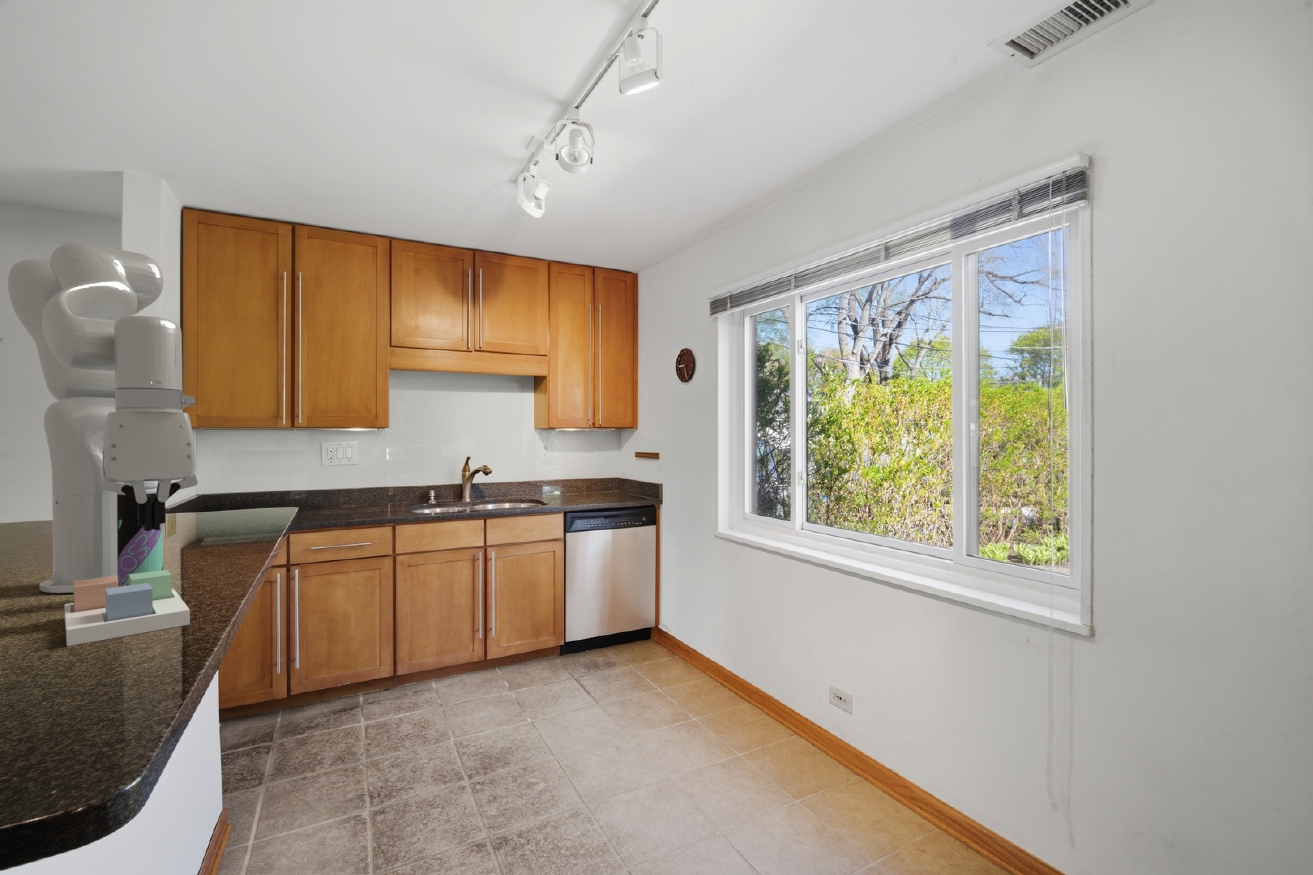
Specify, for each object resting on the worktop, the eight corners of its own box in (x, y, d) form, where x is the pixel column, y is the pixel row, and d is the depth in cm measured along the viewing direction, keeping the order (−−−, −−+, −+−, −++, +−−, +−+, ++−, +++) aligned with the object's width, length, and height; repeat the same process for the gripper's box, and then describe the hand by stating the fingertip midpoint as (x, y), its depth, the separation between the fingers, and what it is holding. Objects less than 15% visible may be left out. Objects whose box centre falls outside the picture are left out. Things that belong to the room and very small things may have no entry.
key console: (64, 618, 85) (64, 604, 84) (173, 601, 93) (173, 588, 93) (66, 646, 74) (66, 630, 74) (189, 624, 82) (189, 609, 82)
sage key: (128, 598, 88) (128, 574, 88) (167, 592, 91) (167, 569, 91) (131, 604, 85) (131, 579, 85) (171, 598, 88) (171, 574, 88)
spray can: (109, 602, 92) (108, 471, 92) (129, 593, 98) (129, 469, 97) (152, 600, 94) (151, 471, 93) (169, 590, 99) (169, 468, 99)
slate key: (105, 614, 81) (105, 588, 81) (148, 607, 84) (148, 582, 84) (108, 622, 78) (107, 595, 77) (152, 614, 81) (152, 588, 81)
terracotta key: (73, 606, 84) (73, 581, 84) (116, 600, 87) (115, 575, 87) (74, 613, 81) (74, 587, 81) (118, 606, 84) (118, 581, 84)
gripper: (208, 405, 96) (210, 521, 96) (77, 403, 85) (79, 533, 85) (217, 403, 90) (219, 526, 90) (79, 400, 80) (81, 539, 80)
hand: (151, 529), depth 88 cm, fingers closed
